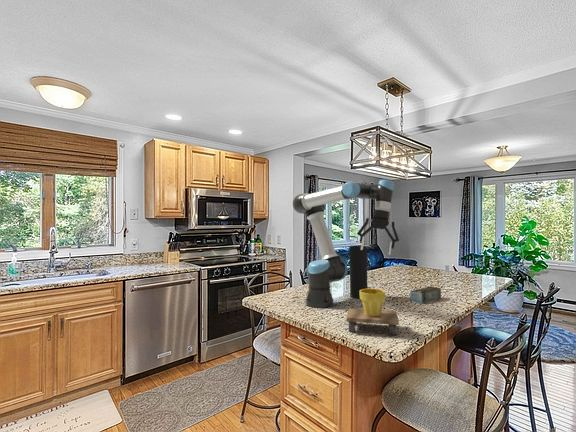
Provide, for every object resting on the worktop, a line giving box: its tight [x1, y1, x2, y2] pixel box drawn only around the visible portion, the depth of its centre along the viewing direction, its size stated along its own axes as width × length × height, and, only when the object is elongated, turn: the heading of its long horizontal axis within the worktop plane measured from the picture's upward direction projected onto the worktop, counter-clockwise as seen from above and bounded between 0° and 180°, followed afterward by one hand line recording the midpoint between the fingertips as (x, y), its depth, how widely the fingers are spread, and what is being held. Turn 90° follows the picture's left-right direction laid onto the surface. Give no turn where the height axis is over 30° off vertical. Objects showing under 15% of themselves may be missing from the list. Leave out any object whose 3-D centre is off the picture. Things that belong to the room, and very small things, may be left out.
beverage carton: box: [409, 286, 442, 305], centre depth 176 cm, size 8×19×7 cm, turn 124°
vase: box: [348, 245, 368, 300], centre depth 186 cm, size 10×10×30 cm
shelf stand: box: [345, 307, 400, 337], centre depth 129 cm, size 20×14×6 cm
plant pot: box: [359, 288, 386, 317], centre depth 129 cm, size 10×10×10 cm
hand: (375, 252), depth 155 cm, fingers open, 13 cm apart
